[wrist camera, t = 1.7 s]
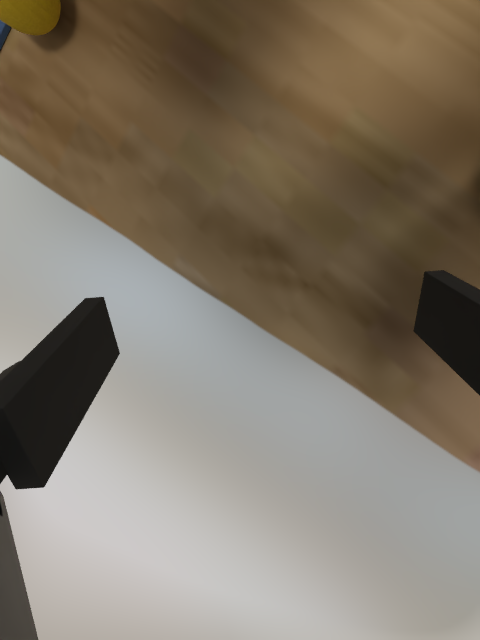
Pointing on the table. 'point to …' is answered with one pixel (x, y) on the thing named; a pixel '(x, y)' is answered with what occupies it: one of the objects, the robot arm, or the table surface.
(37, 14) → the lemon
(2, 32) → the blue mat
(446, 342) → the robot arm
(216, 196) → the table surface
